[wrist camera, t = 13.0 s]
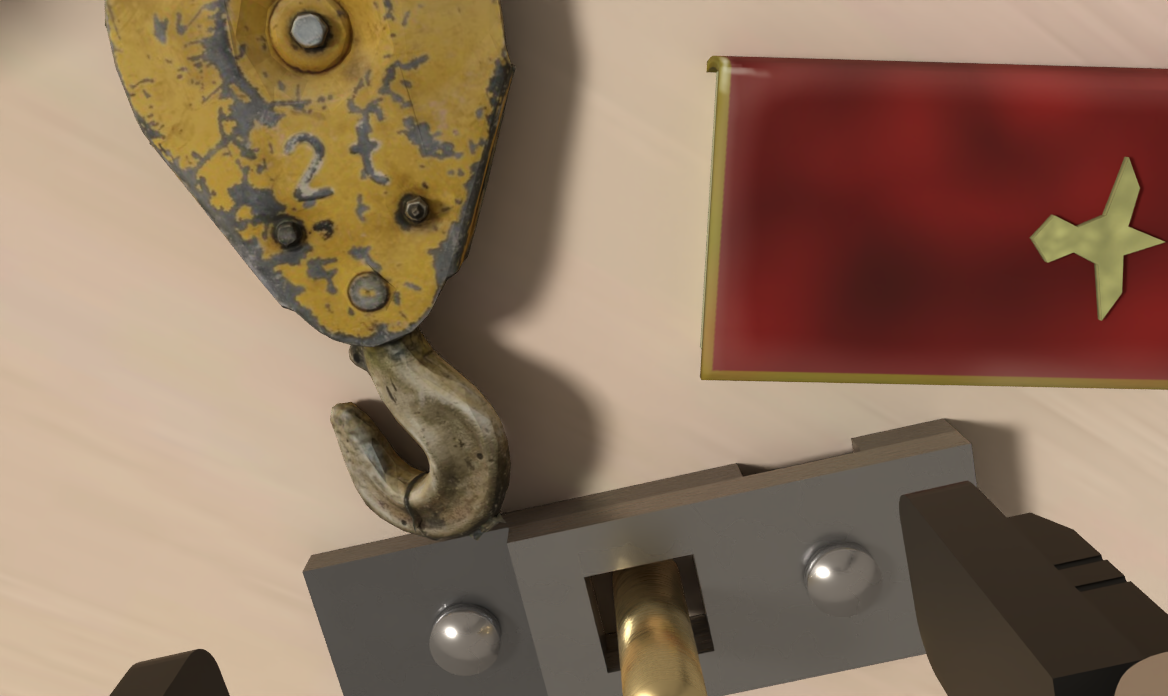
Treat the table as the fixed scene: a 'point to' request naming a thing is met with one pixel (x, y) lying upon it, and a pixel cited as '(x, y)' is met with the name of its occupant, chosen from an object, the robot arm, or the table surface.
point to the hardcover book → (937, 224)
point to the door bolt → (636, 537)
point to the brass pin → (655, 632)
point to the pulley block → (345, 198)
